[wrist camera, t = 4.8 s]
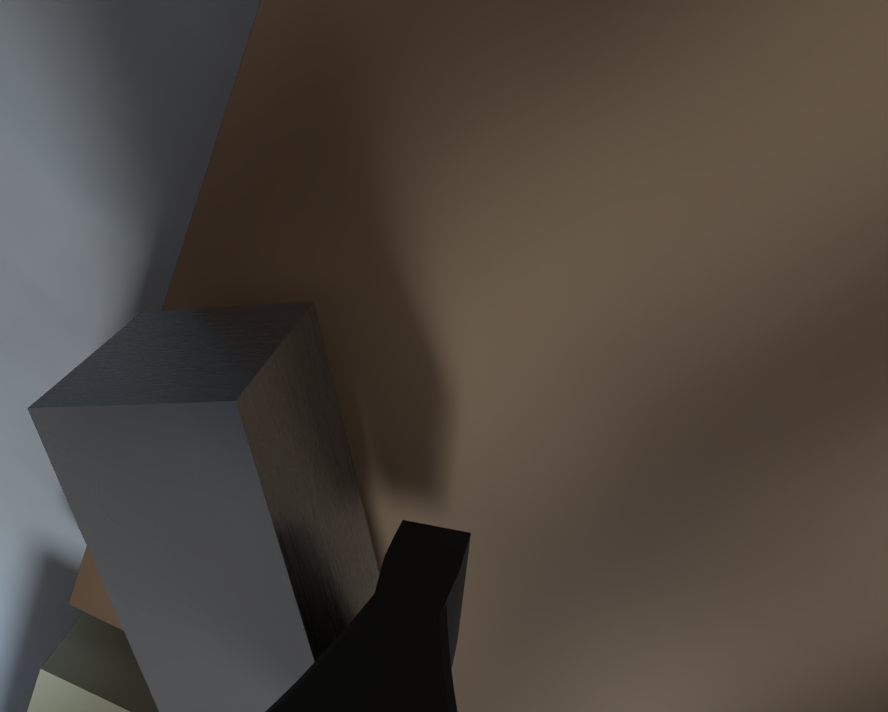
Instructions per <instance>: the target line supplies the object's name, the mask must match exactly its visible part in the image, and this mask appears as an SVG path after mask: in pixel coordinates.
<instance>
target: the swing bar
mask: <svg viewBox="0 0 888 712" xmlns="http://www.w3.org/2000/svg"><path fill="white" fill-rule="evenodd" d="M28 411H29V413H30V415H31V418H32V420H33V422H34V424H35V427H36V429H37V431H38V434H39V436H40V438H41V441H42V443H43V445H44V448H45V450H46V452H47V454H48V457H49V459H50V461H51V464H52V466H53V468H54V471H55V473H56V475H57V478H58V480H59V482H60V484H61V487H62V489H63V491H64V494H65V496H66V498H67V501H68V503H69V505H70V508H71V510H72V512H73V514H74V517H75V519H76V521H77V524H78V526H79V528H80V531H81V533H82V535H83V538H84V540H85V542H86V544H87V547H88V549H89V551H90V554H91V556H92V558H93V561H94V563H95V565H96V568H97V570H98V572H99V575H100V577H101V579H102V581H103V584H104V586H105V588H106V591H107V593H108V595H109V598H110V600H111V602H112V605H113V607H114V609H115V611H116V614H117V616H118V618H119V621H120V623H121V625H122V628H123V630H124V632H125V635H126V637H127V639H128V641H129V644H130V646H131V648H132V651H133V653H134V655H135V658H136V660H137V662H138V665H139V667H140V669H141V671H142V674H143V676H144V678H145V681H146V683H147V685H148V688H149V690H150V692H151V695H152V697H153V699H154V701H155V704H156V706H157V708H158V711H159V712H265V711H266V710H268V709H269V708H270V707H271V706H272V705H273V704H274V703H275V702H276V701H277V700H278V699H279V698H280V697H281V696H282V695H283V694H284V693H285V692H286V691H287V690H288V689H289V688H290V687H291V686H292V685H293V684H294V683H295V682H296V681H297V680H298V679H299V678H300V677H301V676H302V675H303V674H304V673H305V672H306V671H307V670H308V669H309V668H310V666H311V665H312V664H313V663H314V662H315V661H316V660H317V659H318V658H319V657H320V656H321V655H322V654H323V653H324V652H325V650H326V649H327V648H328V647H329V646H330V645H331V644H332V643H333V642H334V641H335V640H336V639H337V638H338V636H339V635H340V634H341V633H342V632H343V631H344V630H345V628H346V627H347V626H348V625H349V624H350V622H351V621H352V620H353V619H354V617H355V616H356V615H357V614H358V613H359V611H360V610H361V609H362V608H363V607H364V605H365V604H366V603H367V602H368V601H369V599H370V598H371V597H372V596H373V594H374V593H375V589H376V586H377V582H378V578H379V575H380V574H379V570H378V566H377V562H376V558H375V553H374V549H373V545H372V541H371V537H370V532H369V528H368V524H367V520H366V516H365V512H364V507H363V503H362V499H361V495H360V491H359V486H358V482H357V478H356V474H355V470H354V465H353V461H352V457H351V453H350V449H349V445H348V440H347V436H346V432H345V428H344V424H343V419H342V415H341V411H340V407H339V403H338V398H337V394H336V390H335V386H334V382H333V378H332V373H331V369H330V365H329V361H328V357H327V352H326V348H325V344H324V340H323V336H322V331H321V327H320V323H319V319H318V315H317V311H316V306H315V302H314V301H306V302H291V303H275V304H260V305H245V306H229V307H214V308H198V309H183V310H167V311H152V312H141V313H140V314H139V315H138V316H137V317H135V318H134V319H133V320H132V321H131V322H129V323H128V324H127V325H126V326H125V327H124V328H122V329H121V330H120V331H119V332H118V333H116V334H115V335H114V336H113V337H112V338H110V339H109V340H108V341H107V342H106V343H105V344H103V345H102V346H101V347H100V348H99V349H97V350H96V351H95V352H94V353H93V354H91V355H90V356H89V357H88V358H87V359H86V360H84V361H83V362H82V363H81V364H80V365H78V366H77V367H76V368H75V369H74V370H72V371H71V372H70V373H69V374H68V375H67V376H65V377H64V378H63V379H62V380H61V381H59V382H58V383H57V384H56V385H55V386H53V387H52V388H51V389H50V390H49V391H48V392H46V393H45V394H44V395H43V396H42V397H40V398H39V399H38V400H37V401H36V402H34V403H33V404H32V405H31V406H30V407H29V408H28Z"/></svg>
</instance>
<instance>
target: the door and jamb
mask: <svg viewBox="0 0 888 712" xmlns="http://www.w3.org/2000/svg"><path fill="white" fill-rule="evenodd" d="M306 301H314V302H315V306H316V311H317V315H318V319H319V323H320V327H321V331H322V336H323V340H324V344H325V348H326V352H327V357H328V361H329V365H330V369H331V373H332V378H333V382H334V386H335V390H336V394H337V398H338V403H339V407H340V411H341V415H342V419H343V424H344V428H345V432H346V436H347V440H348V445H349V449H350V453H351V457H352V461H353V465H354V470H355V474H356V478H357V482H358V486H359V491H360V495H361V499H362V503H363V507H364V512H365V516H366V520H367V524H368V528H369V532H370V537H371V541H372V545H373V549H374V553H375V558H376V562H377V566H378V570H379V574H380V571H381V567H382V564H383V560H384V557H385V554H386V552H387V550H388V548H389V546H390V544H391V541H392V539H393V537H394V535H395V533H396V532H397V530H398V528H399V526H400V524H401V522H402V520H407V521H412V522H417V523H422V524H428V525H433V526H438V527H443V528H449V529H454V530H459V531H464V532H470V533H471V537H470V545H469V553H468V561H467V569H466V577H465V585H464V593H463V601H462V609H461V617H460V626H459V634H458V641H457V646H456V651H455V656H454V660H453V665H452V677H453V685H454V692H455V699H456V705H457V711H458V712H888V0H261V2H260V5H259V8H258V11H257V15H256V18H255V21H254V24H253V27H252V30H251V33H250V37H249V40H248V43H247V46H246V49H245V52H244V55H243V58H242V62H241V65H240V68H239V71H238V74H237V77H236V80H235V84H234V87H233V90H232V93H231V96H230V99H229V102H228V105H227V109H226V112H225V115H224V118H223V121H222V124H221V127H220V131H219V134H218V137H217V140H216V143H215V146H214V149H213V153H212V156H211V159H210V162H209V165H208V168H207V171H206V174H205V178H204V181H203V184H202V187H201V190H200V193H199V196H198V200H197V203H196V206H195V209H194V212H193V215H192V218H191V221H190V225H189V228H188V231H187V234H186V237H185V240H184V243H183V247H182V250H181V253H180V256H179V259H178V262H177V265H176V268H175V272H174V275H173V278H172V281H171V284H170V287H169V290H168V294H167V297H166V300H165V303H164V306H163V309H162V311H167V310H183V309H198V308H214V307H229V306H245V305H260V304H275V303H291V302H306ZM69 605H71V606H73V607H76V608H78V609H80V610H82V611H84V612H83V614H82V615H81V616H80V618H79V619H78V620H77V622H76V623H75V624H74V625H73V627H72V628H71V629H70V631H69V632H68V633H67V635H66V636H65V637H64V638H63V640H62V641H61V642H60V644H59V645H58V646H57V648H56V649H55V650H54V652H53V653H52V654H51V655H50V657H49V658H48V659H47V661H46V662H45V663H44V665H43V666H42V667H41V668H40V671H39V675H38V678H37V681H36V684H35V688H34V691H33V694H32V697H31V700H30V704H29V707H28V710H27V712H159V711H158V708H157V706H156V704H155V701H154V699H153V697H152V695H151V692H150V690H149V688H148V685H147V683H146V681H145V678H144V676H143V674H142V671H141V669H140V667H139V665H138V662H137V660H136V658H135V655H134V653H133V651H132V648H131V646H130V644H129V641H128V639H127V637H126V635H125V632H124V630H123V628H122V625H121V623H120V621H119V618H118V616H117V614H116V611H115V609H114V607H113V605H112V602H111V600H110V598H109V595H108V593H107V591H106V588H105V586H104V584H103V581H102V579H101V577H100V575H99V572H98V570H97V568H96V565H95V563H94V561H93V558H92V556H91V554H90V551H89V549H88V547H86V550H85V554H84V557H83V560H82V563H81V566H80V569H79V572H78V576H77V579H76V582H75V585H74V588H73V591H72V594H71V598H70V601H69Z"/></svg>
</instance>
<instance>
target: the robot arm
mask: <svg viewBox="0 0 888 712" xmlns="http://www.w3.org/2000/svg"><path fill="white" fill-rule="evenodd" d="M470 537H471V533H470V532H464V531H459V530H454V529H449V528H443V527H438V526H433V525H428V524H422V523H417V522H412V521H407V520H402V522H401V524H400V526H399V528H398V530H397V532H396V533H395V535H394V537H393V539H392V541H391V544H390V546H389V548H388V550H387V552H386V554H385V557H384V560H383V564H382V567H381V571H380V575H379V578H378V582H377V586H376V589H375V593H374V594H373V596H372V597H371V598H370V599H369V601H368V602H367V603H366V604H365V605H364V607H363V608H362V609H361V610H360V611H359V613H358V614H357V615H356V616H355V617H354V619H353V620H352V621H351V622H350V624H349V625H348V626H347V627H346V628H345V630H344V631H343V632H342V633H341V634H340V635H339V636H338V638H337V639H336V640H335V641H334V642H333V643H332V644H331V645H330V646H329V647H328V648H327V649H326V650H325V652H324V653H323V654H322V655H321V656H320V657H319V658H318V659H317V660H316V661H315V662H314V663H313V664H312V665H311V666H310V668H309V669H308V670H307V671H306V672H305V673H304V674H303V675H302V676H301V677H300V678H299V679H298V680H297V681H296V682H295V683H294V684H293V685H292V686H291V687H290V688H289V689H288V690H287V691H286V692H285V693H284V694H283V695H282V696H281V697H280V698H279V699H278V700H277V701H276V702H275V703H274V704H273V705H272V706H271V707H270V708H269V709H268V710H266V711H265V712H458V711H457V705H456V699H455V692H454V685H453V677H452V665H453V660H454V656H455V651H456V646H457V641H458V634H459V626H460V617H461V609H462V601H463V593H464V585H465V577H466V569H467V561H468V553H469V545H470Z"/></svg>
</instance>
